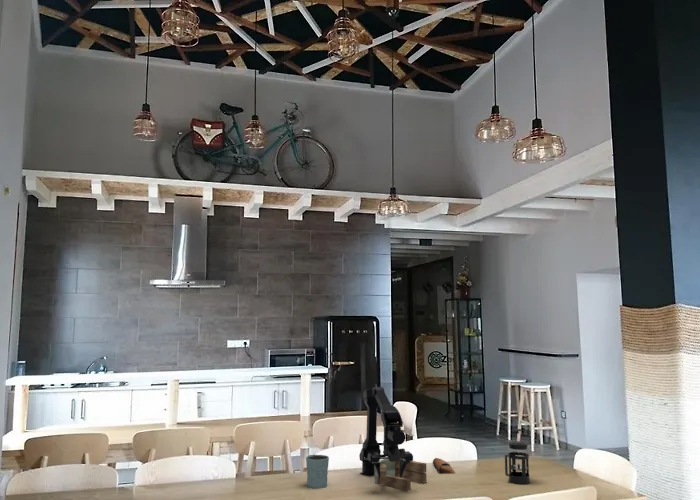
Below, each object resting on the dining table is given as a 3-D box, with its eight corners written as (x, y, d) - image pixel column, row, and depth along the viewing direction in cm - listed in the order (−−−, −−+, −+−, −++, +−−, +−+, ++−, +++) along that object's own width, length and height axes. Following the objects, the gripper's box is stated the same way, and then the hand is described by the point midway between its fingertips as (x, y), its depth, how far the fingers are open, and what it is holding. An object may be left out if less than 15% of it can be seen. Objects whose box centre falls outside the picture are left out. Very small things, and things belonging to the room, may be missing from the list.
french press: (524, 478, 257) (522, 426, 260) (535, 484, 248) (533, 430, 251) (501, 479, 255) (499, 427, 258) (511, 485, 245) (509, 431, 249)
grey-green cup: (311, 490, 237) (311, 460, 238) (301, 484, 246) (302, 455, 247) (332, 487, 241) (332, 458, 243) (322, 481, 250) (323, 453, 252)
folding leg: (380, 472, 248) (380, 464, 248) (386, 473, 248) (386, 464, 248) (380, 481, 234) (380, 472, 234) (385, 481, 234) (385, 472, 234)
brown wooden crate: (374, 483, 247) (374, 462, 249) (394, 475, 260) (394, 455, 261) (407, 490, 237) (406, 468, 238) (426, 482, 249) (426, 461, 250)
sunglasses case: (456, 473, 264) (449, 461, 265) (444, 481, 264) (436, 469, 264) (449, 464, 282) (442, 452, 283) (437, 471, 282) (430, 460, 282)
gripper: (374, 444, 228) (373, 484, 226) (417, 443, 232) (417, 482, 230) (367, 438, 239) (366, 476, 237) (409, 437, 243) (408, 475, 241)
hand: (390, 477), depth 236 cm, fingers open, 9 cm apart
